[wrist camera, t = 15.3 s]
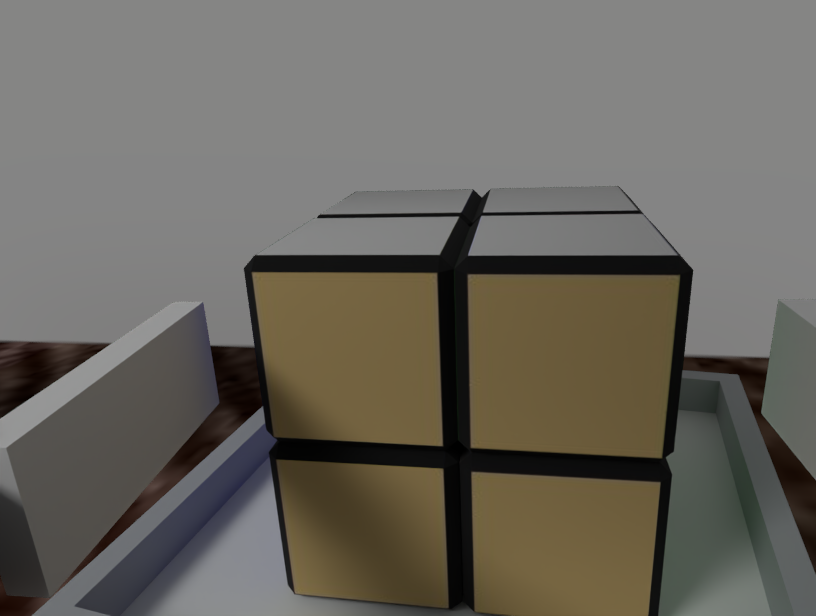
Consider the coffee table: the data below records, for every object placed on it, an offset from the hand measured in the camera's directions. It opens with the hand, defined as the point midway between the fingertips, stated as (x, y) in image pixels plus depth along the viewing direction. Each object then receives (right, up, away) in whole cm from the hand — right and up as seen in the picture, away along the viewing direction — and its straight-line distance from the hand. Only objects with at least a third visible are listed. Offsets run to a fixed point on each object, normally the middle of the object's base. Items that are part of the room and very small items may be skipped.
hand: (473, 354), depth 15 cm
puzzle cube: (+1, -6, +7) cm, 9 cm away
